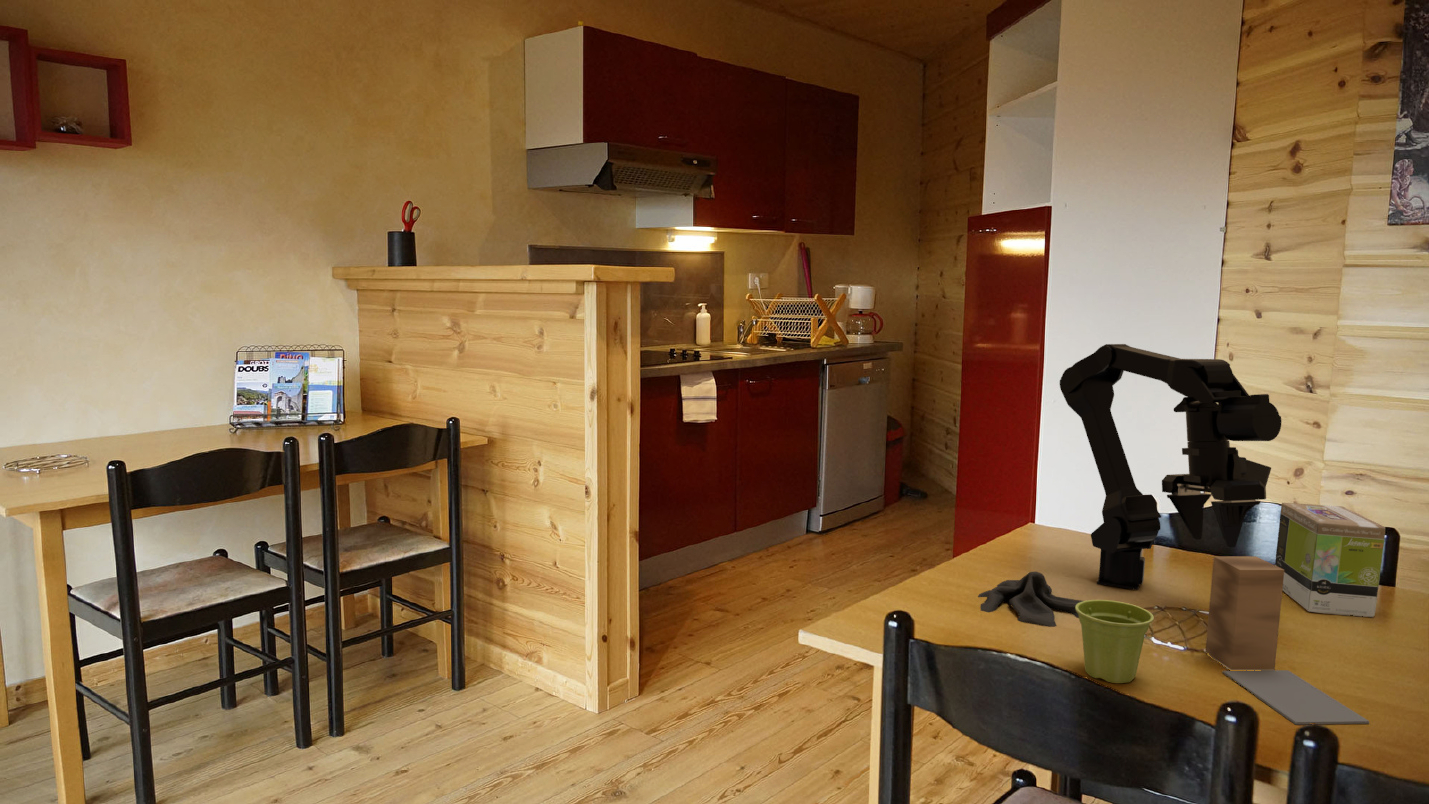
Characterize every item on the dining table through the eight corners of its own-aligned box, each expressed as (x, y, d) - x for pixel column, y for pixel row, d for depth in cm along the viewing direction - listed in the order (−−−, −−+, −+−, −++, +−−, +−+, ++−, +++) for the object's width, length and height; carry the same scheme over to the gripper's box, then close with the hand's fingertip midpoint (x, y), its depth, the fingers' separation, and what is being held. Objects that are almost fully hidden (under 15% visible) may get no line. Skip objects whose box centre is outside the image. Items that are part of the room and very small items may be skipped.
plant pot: (1059, 660, 128) (1063, 599, 126) (1125, 659, 128) (1129, 598, 127) (1092, 690, 118) (1096, 624, 117) (1163, 689, 119) (1168, 623, 118)
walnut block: (1205, 653, 131) (1213, 556, 129) (1246, 653, 131) (1255, 556, 129) (1231, 671, 125) (1240, 569, 123) (1274, 671, 125) (1284, 569, 123)
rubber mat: (1222, 673, 124) (1222, 670, 124) (1287, 672, 125) (1288, 670, 125) (1295, 724, 110) (1295, 722, 110) (1369, 723, 110) (1369, 721, 110)
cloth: (1023, 581, 163) (1025, 546, 163) (1118, 614, 148) (1121, 576, 147) (931, 602, 152) (933, 566, 151) (1024, 641, 136) (1026, 600, 135)
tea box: (1378, 619, 146) (1388, 526, 144) (1306, 613, 148) (1316, 522, 146) (1335, 588, 160) (1344, 503, 158) (1270, 583, 162) (1278, 500, 160)
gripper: (1299, 439, 134) (1305, 549, 134) (1225, 437, 153) (1230, 533, 153) (1223, 443, 134) (1229, 552, 134) (1157, 440, 153) (1163, 536, 152)
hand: (1213, 543), depth 143 cm, fingers open, 9 cm apart
